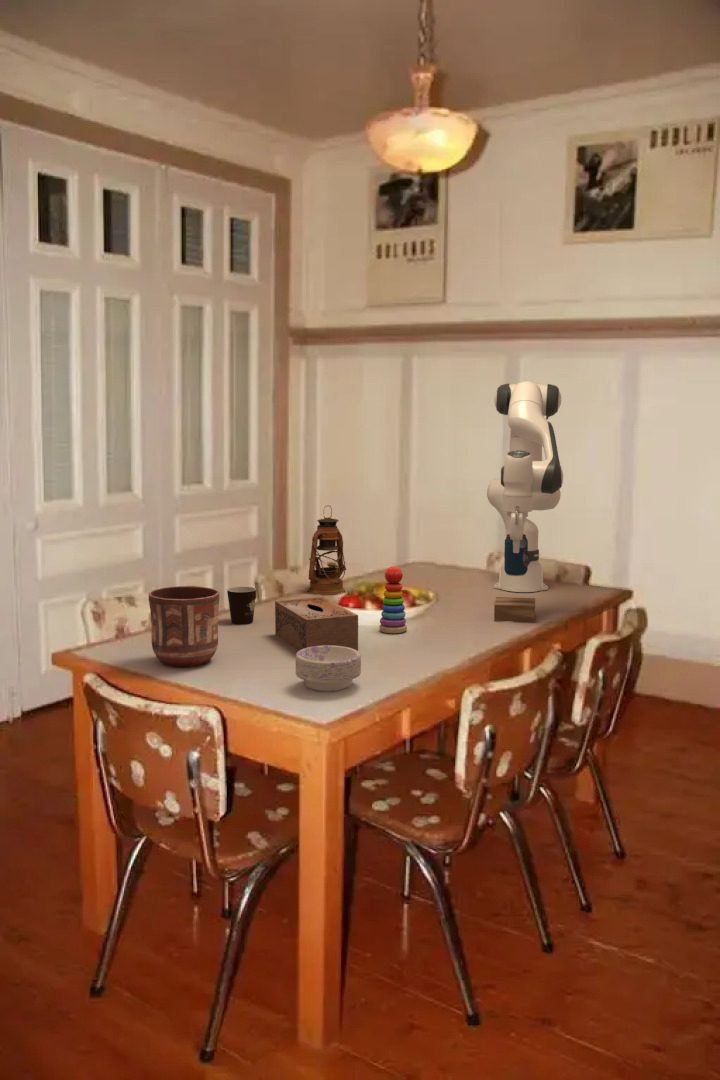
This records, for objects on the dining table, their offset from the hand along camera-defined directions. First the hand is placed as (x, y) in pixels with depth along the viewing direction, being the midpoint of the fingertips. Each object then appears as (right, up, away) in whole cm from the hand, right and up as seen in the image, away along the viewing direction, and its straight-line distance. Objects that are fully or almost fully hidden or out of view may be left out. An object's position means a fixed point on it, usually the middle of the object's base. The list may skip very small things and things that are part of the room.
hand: (516, 550), depth 295 cm
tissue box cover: (-59, -25, -28) cm, 70 cm away
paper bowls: (-55, -31, -68) cm, 92 cm away
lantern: (-59, -15, +43) cm, 75 cm away
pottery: (-91, -28, -47) cm, 107 cm away
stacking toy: (-38, -23, -14) cm, 47 cm away
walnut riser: (0, -20, +3) cm, 21 cm away
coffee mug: (-81, -21, -3) cm, 84 cm away
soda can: (0, -7, +1) cm, 7 cm away
